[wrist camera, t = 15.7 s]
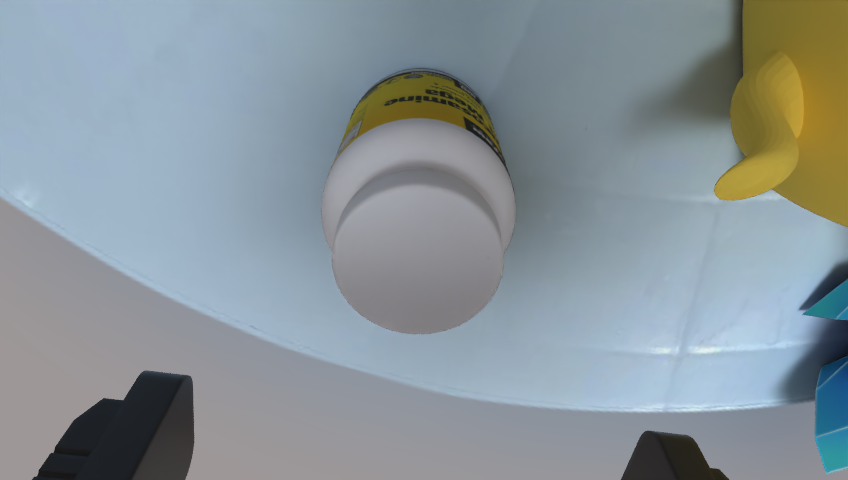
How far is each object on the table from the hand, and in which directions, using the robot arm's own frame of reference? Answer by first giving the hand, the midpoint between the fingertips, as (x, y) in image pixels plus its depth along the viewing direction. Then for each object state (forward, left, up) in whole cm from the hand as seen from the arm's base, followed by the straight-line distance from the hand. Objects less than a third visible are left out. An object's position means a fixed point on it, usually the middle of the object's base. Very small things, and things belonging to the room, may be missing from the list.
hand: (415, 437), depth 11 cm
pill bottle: (0, 0, -17) cm, 17 cm away
